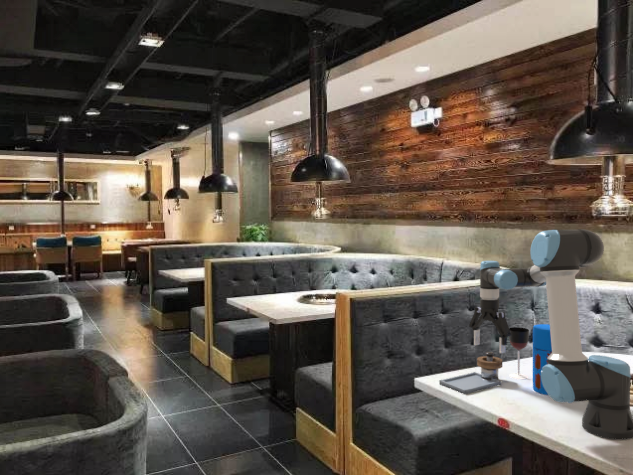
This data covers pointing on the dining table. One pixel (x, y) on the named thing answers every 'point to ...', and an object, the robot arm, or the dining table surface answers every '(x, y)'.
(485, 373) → the metal peg stand
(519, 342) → the wineglass
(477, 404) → the dining table surface
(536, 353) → the thermos
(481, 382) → the tray
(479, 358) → the ring
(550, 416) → the dining table surface
